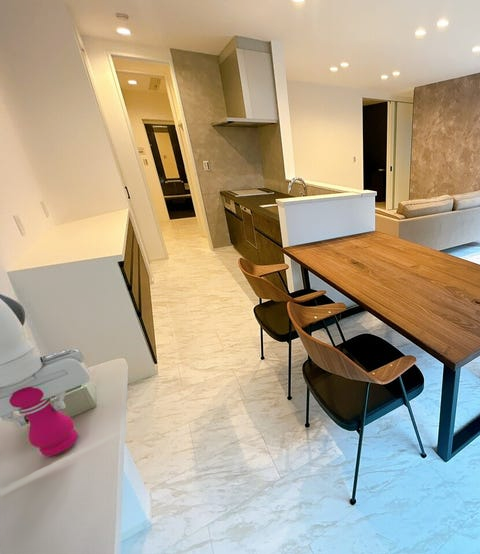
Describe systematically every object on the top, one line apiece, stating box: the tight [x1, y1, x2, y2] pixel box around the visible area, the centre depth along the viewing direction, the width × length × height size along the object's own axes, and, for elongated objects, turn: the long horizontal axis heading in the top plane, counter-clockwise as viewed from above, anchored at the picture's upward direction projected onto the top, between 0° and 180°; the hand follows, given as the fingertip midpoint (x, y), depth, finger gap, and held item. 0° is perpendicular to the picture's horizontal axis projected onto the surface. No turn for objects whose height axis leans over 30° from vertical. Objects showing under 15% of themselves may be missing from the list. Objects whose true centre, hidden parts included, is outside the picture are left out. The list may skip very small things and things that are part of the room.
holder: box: [50, 376, 98, 419], centre depth 83 cm, size 11×11×7 cm
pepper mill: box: [10, 387, 79, 457], centre depth 67 cm, size 7×7×20 cm
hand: (42, 416), depth 68 cm, fingers closed on pepper mill, 4 cm apart
